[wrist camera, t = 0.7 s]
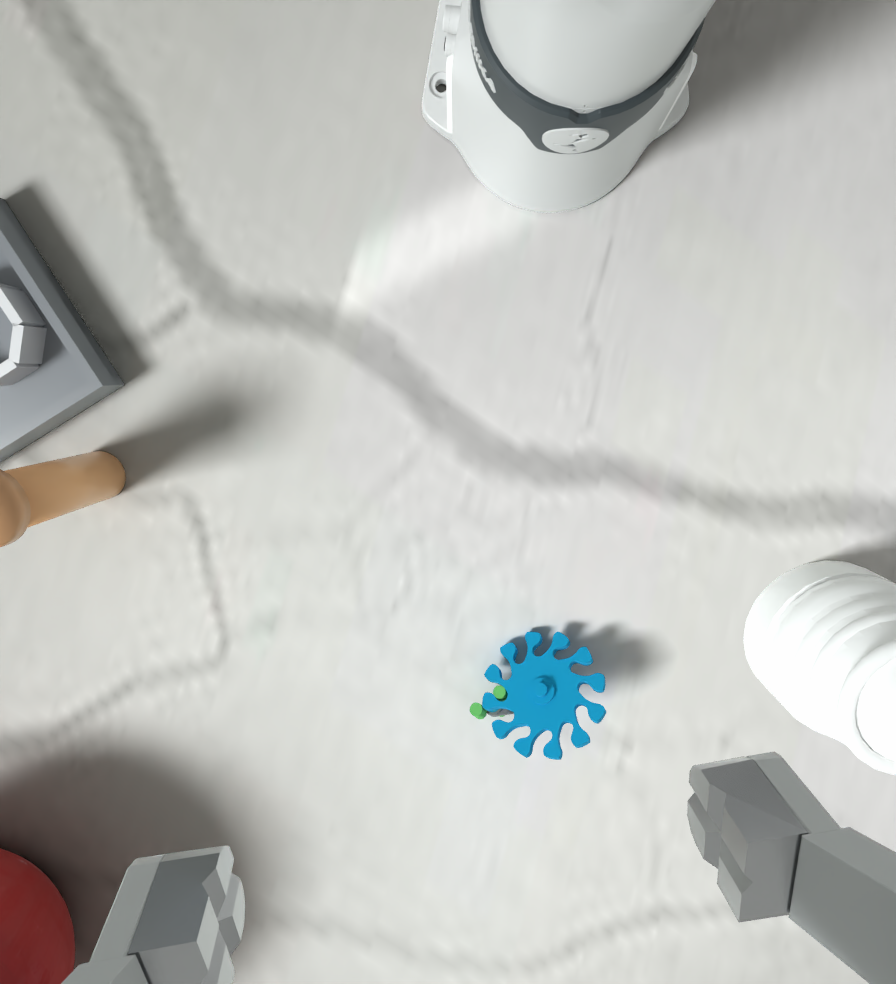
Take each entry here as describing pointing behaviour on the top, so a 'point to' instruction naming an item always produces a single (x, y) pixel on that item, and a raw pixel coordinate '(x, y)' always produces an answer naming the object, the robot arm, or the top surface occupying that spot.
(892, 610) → the honey pot
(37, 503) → the round-headed peg
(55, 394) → the tray
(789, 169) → the top surface
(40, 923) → the mixing bowl
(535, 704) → the blue knobbed disc
